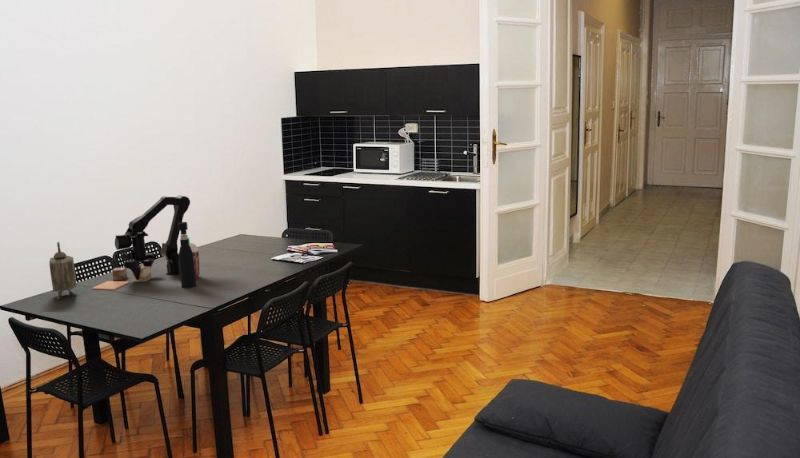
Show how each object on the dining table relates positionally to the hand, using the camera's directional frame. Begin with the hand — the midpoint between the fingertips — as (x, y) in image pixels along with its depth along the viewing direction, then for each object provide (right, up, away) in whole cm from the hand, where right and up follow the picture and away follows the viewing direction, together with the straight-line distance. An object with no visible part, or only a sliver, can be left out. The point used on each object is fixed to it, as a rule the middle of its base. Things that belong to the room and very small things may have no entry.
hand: (142, 277), depth 337 cm
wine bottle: (+27, -3, -15) cm, 31 cm away
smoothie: (+25, 0, 0) cm, 25 cm away
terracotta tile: (-11, -3, -9) cm, 15 cm away
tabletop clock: (-26, -7, -23) cm, 35 cm away
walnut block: (-12, -1, +4) cm, 13 cm away
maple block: (0, -1, 0) cm, 1 cm away
